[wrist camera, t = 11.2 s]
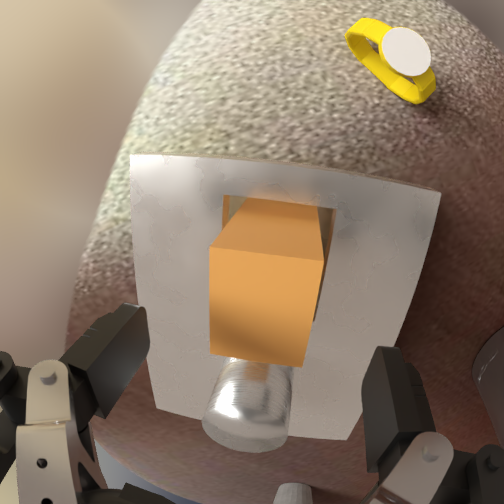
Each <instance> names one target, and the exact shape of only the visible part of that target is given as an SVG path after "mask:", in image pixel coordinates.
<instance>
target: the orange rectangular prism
mask: <svg viewBox="0 0 504 504" xmlns="http://www.w3.org/2000/svg"><path fill="white" fill-rule="evenodd" d="M323 264H324V257H323V248H322V241H321V233H320V225H319V218H318V211H317V206H312V205H305V204H298V203H290V202H283V201H275V200H267V199H259V198H250V197H248V198H247V199H246V200H245V202H244V203H243V204H242V205H241V207H240V208H239V209H238V211H237V212H236V213H235V214H234V216H233V217H232V218H231V220H230V221H229V222H228V223H227V225H226V226H225V227H224V229H223V230H222V231H221V233H220V234H219V235H218V236H217V238H216V239H215V240H214V242H213V243H212V244H211V246H210V247H209V328H210V354H215V355H220V356H225V357H231V358H237V359H243V360H249V361H256V362H262V363H269V364H277V365H284V366H292V367H301V368H302V366H303V362H304V358H305V353H306V349H307V345H308V340H309V336H310V331H311V326H312V322H313V317H314V312H315V307H316V302H317V297H318V292H319V286H320V281H321V276H322V270H323Z"/></svg>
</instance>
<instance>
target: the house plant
mask: <svg viewBox="0 0 504 504" xmlns="http://www.w3.org/2000/svg"><path fill="white" fill-rule="evenodd" d="M273 504H313V501H312V493H311V487H310V486H308V485H306V484H302V483H286V484H282V485H281V486H280V487H279V489H278V491H277V494H276V497H275V499H274V502H273Z"/></svg>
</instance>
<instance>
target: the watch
mask: <svg viewBox="0 0 504 504" xmlns="http://www.w3.org/2000/svg"><path fill="white" fill-rule="evenodd" d="M365 37H366V38H368V39H369V40H371V41H373V42H375V43H376V44H378V48H379V54H378V53H377V52H376V51H374V50H373V48H372V47H371V45H370V44H369V42H368V41H367V40H366V38H365ZM345 39H346V42H347V44H348V47H349V49H350V50H351V51H352V53H353V54H354V55H355V57H356V58H357V59H358V60H359V61H360V62H361V63H362V64H363V65H364V66H366V67H367V68H368V69H369V70H370V71H371V72H372V73H373V74H374V75H375V76H376V77H377V78H378V79H379V80H380V81H381V82H382V83H383V84H384V85H386V86H387V89H389V90H390V91H392V92H393V93H395V94H396V95H398V96H399V97H401V98H402V99H404V100H406V101H408V102H411V103H413V104H420V103H422V102H424V101H425V100H426V99H427V98H428V97H429V96H430V95H431V94H432V93H433V92H434V90H435V89H436V81H435V76H434V73H433V71H432V69H431V67H430V62H431V53H430V49H429V47H428V44H427V43H426V41H425V40H424V39H423V37H422V36H421V35H419V34H418V33H417V32H415V31H414V30H411V29H409V28H406V27H394V28H392V27H390V26H389V25H387V24H385V23H383V22H381V21H379V20H376V19H369V18H361V19H360V20H359V21H357V22H356V23H355V24H354V25H353V26H352V27H351V28H350V29H349V30H348V31H347V32H346V33H345ZM404 77H409V78H412V80H413V81H414V83H415V84H416V85H414V84H413V83H412V82H410V81H408V80H407V79H405V78H404Z"/></svg>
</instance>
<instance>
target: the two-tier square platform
mask: <svg viewBox="0 0 504 504" xmlns="http://www.w3.org/2000/svg"><path fill="white" fill-rule="evenodd" d="M248 197H250V198H259V199H267V200H275V201H283V202H290V203H298V204H305V205H312V206H317V211H318V218H319V225H320V233H321V241H322V248H323V257H324V264H323V270H322V276H321V281H320V286H319V292H318V297H317V302H316V307H315V312H314V317H313V322H312V326H311V331H310V336H309V340H308V345H307V349H306V353H305V358H304V362H303V366H302V368H301V367H292V366H284V365H277V364H269V363H262V362H256V361H249V360H243V359H237V358H231V357H225V356H220V355H215V354H210V328H209V247H210V246H211V244H212V243H213V242H214V240H215V239H216V238H217V236H218V235H219V234H220V233H221V231H222V230H223V229H224V227H225V226H226V225H227V223H228V222H229V221H230V220H231V218H232V217H233V216H234V214H235V213H236V212H237V211H238V209H239V208H240V207H241V205H242V204H243V203H244V202H245V200H246V199H247V198H248ZM440 197H441V193H440V192H438V191H437V190H435V189H433V188H431V187H428V186H424V185H419V184H415V183H410V182H406V181H401V180H396V179H391V178H386V177H381V176H376V175H370V174H365V173H359V172H354V171H348V170H342V169H335V168H329V167H322V166H315V165H308V164H301V163H293V162H285V161H277V160H268V159H258V158H248V157H237V156H225V155H211V154H195V153H174V152H139V153H135V154H130V202H131V225H132V241H133V255H134V266H135V277H136V286H137V295H138V304H139V306H142V307H144V308H145V309H146V313H147V321H148V329H149V336H150V348H149V352H148V355H147V356H146V357H147V363H148V368H149V374H150V379H151V384H152V389H153V394H154V398H155V403H156V407H157V408H158V409H162V410H165V411H169V412H172V413H176V414H179V415H183V416H187V417H191V418H195V419H199V420H202V426H203V429H204V430H205V432H206V433H207V434H208V436H209V437H211V438H212V439H213V440H214V441H216V442H218V443H219V444H221V445H223V446H226V447H228V448H231V449H234V450H238V451H243V452H267V451H271V450H274V449H276V448H278V447H280V446H282V445H283V444H284V443H285V441H286V440H287V437H288V435H289V436H298V437H308V438H320V439H335V440H347V438H348V437H349V435H350V433H351V431H352V430H353V428H354V426H355V424H356V422H357V421H358V419H359V417H360V415H361V413H362V411H363V408H362V399H361V387H362V382H363V378H364V376H365V373H366V371H367V369H368V366H369V364H370V361H371V359H372V356H373V354H374V351H375V349H376V347H377V346H388V347H393V346H394V344H395V342H396V339H397V337H398V334H399V332H400V329H401V327H402V324H403V322H404V319H405V317H406V314H407V311H408V308H409V306H410V303H411V300H412V297H413V294H414V292H415V289H416V286H417V283H418V280H419V276H420V273H421V270H422V267H423V264H424V260H425V257H426V253H427V250H428V246H429V243H430V239H431V235H432V231H433V228H434V224H435V219H436V215H437V211H438V207H439V202H440Z"/></svg>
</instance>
